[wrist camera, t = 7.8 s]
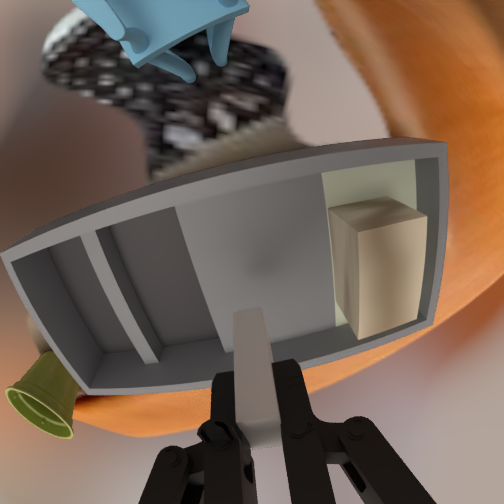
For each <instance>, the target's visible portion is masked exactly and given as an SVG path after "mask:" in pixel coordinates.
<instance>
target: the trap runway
mask: <svg viewBox="0 0 504 504" xmlns="http://www.w3.org/2000/svg"><path fill="white" fill-rule="evenodd" d="M385 196H388V197H390V198H392V199H395V200H397V201H399V202H401V203H403V204H405V205H407V206H409V207H411V208H413V209H415V210H417V211H419V212H421V213H423V214H424V215H426V216H427V237H426V252H425V263H424V273H423V281H422V289H421V296H420V302H419V309H418V314H417V319H415V320H413V321H410V322H408V323H405V324H402V325H400V326H397V327H394V328H392V329H389V330H386V331H383V332H381V333H378V334H375V335H372V336H369V337H366V338H363V339H360V340H358V339H357V337H356V335H355V334H354V332H353V330H352V328H351V327H350V325H349V323H348V321H347V320H346V318H345V316H344V315H343V313H342V311H341V309H340V308H339V306H338V304H337V303H336V301H335V284H334V269H333V257H332V246H331V235H330V226H329V217H328V209H327V208H329V207H334V206H339V205H344V204H349V203H354V202H359V201H364V200H370V199H375V198H380V197H385ZM448 202H449V178H448V154H447V142H441V141H434V140H427V139H419V138H411V137H395V138H383V139H373V140H362V141H354V142H345V143H338V144H330V145H323V146H317V147H310V148H304V149H298V150H293V151H287V152H282V153H276V154H271V155H266V156H261V157H256V158H252V159H247V160H242V161H238V162H234V163H229V164H225V165H221V166H217V167H213V168H209V169H205V170H201V171H197V172H194V173H190V174H186V175H183V176H179V177H176V178H172V179H169V180H166V181H162V182H159V183H156V184H152V185H149V186H146V187H143V188H140V189H137V190H134V191H131V192H128V193H125V194H122V195H119V196H116V197H113V198H111V199H108V200H105V201H102V202H100V203H97V204H94V205H92V206H89V207H87V208H84V209H81V210H79V211H76V212H74V213H71V214H69V215H66V216H64V217H62V218H59V219H57V220H54V221H52V222H50V223H48V224H46V225H43V226H41V227H39V228H36V229H34V230H33V231H31V232H30V233H28V234H27V235H25V236H24V237H22V238H21V239H19V240H18V241H16V242H15V243H14V244H12V245H11V246H9V247H8V248H7V249H5V250H4V251H3V252H1V253H0V255H1V258H2V260H3V262H4V265H5V267H6V269H7V271H8V273H9V276H10V278H11V280H12V282H13V284H14V286H15V288H16V290H17V292H18V294H19V296H20V298H21V300H22V301H23V303H24V305H25V307H26V309H27V310H28V312H29V314H30V316H31V317H32V319H33V321H34V322H35V324H36V326H37V327H38V329H39V330H40V332H41V333H42V335H43V337H44V338H45V340H46V341H47V343H48V344H49V346H50V347H51V348H52V350H53V351H54V353H55V354H56V356H57V357H58V358H59V360H60V361H61V362H62V364H63V365H64V366H65V368H66V369H67V370H68V372H69V373H70V374H71V375H72V377H73V378H74V379H75V380H76V382H77V383H78V384H79V385H80V387H81V388H82V389H83V390H84V391H85V392H86V394H87V395H135V394H154V393H168V392H179V391H188V390H197V389H205V388H212V381H213V379H214V377H215V375H216V373H221V372H227V371H234V346H233V312H237V311H242V310H247V309H251V308H256V307H261V308H262V312H263V316H264V320H265V324H266V328H267V332H268V336H269V340H270V345H271V351H272V356H273V362H278V361H283V360H288V359H292V358H294V360H295V361H296V362H297V363H298V364H299V365H300V367H301V370H304V369H308V368H311V367H315V366H319V365H322V364H326V363H329V362H333V361H336V360H339V359H343V358H346V357H349V356H352V355H355V354H358V353H361V352H364V351H367V350H370V349H373V348H376V347H379V346H381V345H384V344H387V343H390V342H392V341H395V340H397V339H400V338H402V337H405V336H407V335H410V334H412V333H415V332H417V331H419V330H422V329H424V328H426V327H429V326H431V325H433V321H434V317H435V312H436V307H437V302H438V297H439V292H440V286H441V280H442V273H443V266H444V259H445V250H446V239H447V226H448Z"/></svg>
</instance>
